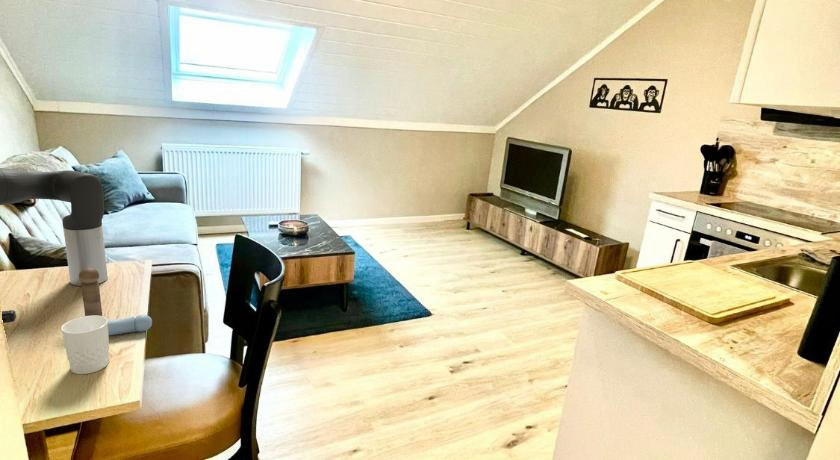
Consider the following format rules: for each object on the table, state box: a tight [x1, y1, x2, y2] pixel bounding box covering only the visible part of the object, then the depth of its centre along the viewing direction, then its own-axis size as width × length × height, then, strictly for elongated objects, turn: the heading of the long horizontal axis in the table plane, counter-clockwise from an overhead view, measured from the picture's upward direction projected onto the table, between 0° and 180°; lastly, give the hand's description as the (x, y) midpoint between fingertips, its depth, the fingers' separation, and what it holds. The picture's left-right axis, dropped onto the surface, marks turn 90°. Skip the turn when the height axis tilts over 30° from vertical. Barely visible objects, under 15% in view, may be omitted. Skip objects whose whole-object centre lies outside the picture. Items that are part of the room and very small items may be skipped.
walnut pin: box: [79, 268, 103, 316], centre depth 114 cm, size 4×4×14 cm
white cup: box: [60, 315, 110, 375], centre depth 95 cm, size 8×8×10 cm
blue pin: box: [108, 314, 153, 337], centre depth 109 cm, size 4×4×14 cm
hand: (14, 315), depth 98 cm, fingers closed
